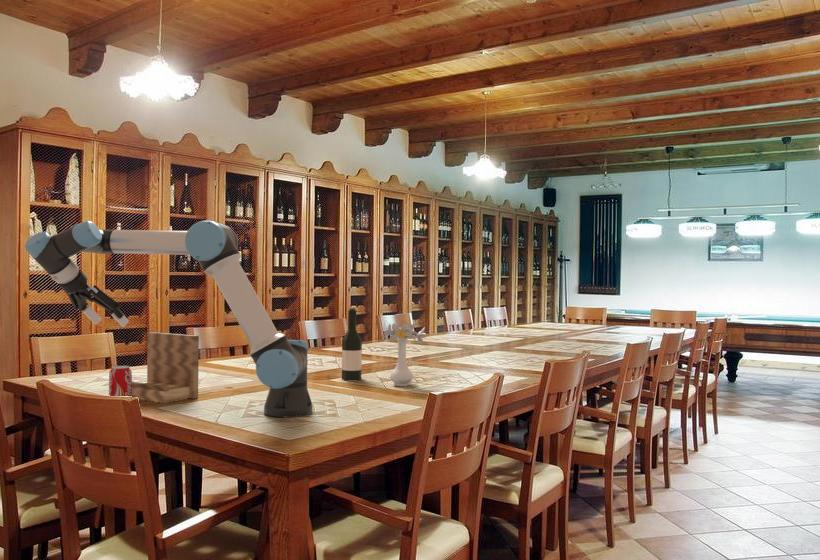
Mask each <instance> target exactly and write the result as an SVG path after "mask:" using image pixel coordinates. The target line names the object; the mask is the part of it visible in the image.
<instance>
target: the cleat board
mask: <svg viewBox="0 0 820 560" xmlns="http://www.w3.org/2000/svg"><path fill="white" fill-rule="evenodd" d="M199 339H200V336H199V335H197V334H196V335H194V334H182V333H166V332H154V331H151V332H147V349H146V350H147V352H146V353H147V357H146V358H147V359H146V360H147V364H146V365H147V366H146V368H147V369H146V371H147V372H146V375H147V376H146V382H144V383H143V382H138V381H132V397H138V398H139V400H140V399H141V400H140V401H145V400H147V401H146V402H152V401H153V403H158V402H160V403H159V404H169V402H170V403H174V402H173V401H175V402H179V400H180V401H184V400H183V399H185V400H188V399H187V398H193V399H192V400H195V399H194V398H197V399H199V357H200V356H199V350H200V346H199V344H200V343H199V342H200V340H199Z"/></svg>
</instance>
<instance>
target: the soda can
mask: <svg viewBox="0 0 820 560" xmlns="http://www.w3.org/2000/svg"><path fill="white" fill-rule="evenodd" d="M130 367H131V366H130V365H114V366H111V367H110V371H109V373H108V374H109V375H108V396H109V395H110V396H132V382H133V376H132V374H133V373H132V369H131V368H130Z"/></svg>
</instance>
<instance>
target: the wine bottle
mask: <svg viewBox="0 0 820 560" xmlns="http://www.w3.org/2000/svg"><path fill="white" fill-rule="evenodd" d="M347 315H348V317H347V318H348V320H347V321H348V322H347V323H348V324H347V331H346V333H345V335H344V337H343V338H342V340H341V341H342V342H341V380H342V379H344V380H343V381H345V380H356V381H361V380H362V366H363V365H362V361H363V360H362V353H363V348H362V347H363V345H362V343H363V340H362V338H361V335H360V334H359V332H358V330H357V310H356V308H354V307H349V309H348V314H347ZM360 379H361V380H360Z"/></svg>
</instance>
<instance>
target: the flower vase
mask: <svg viewBox="0 0 820 560" xmlns="http://www.w3.org/2000/svg"><path fill="white" fill-rule="evenodd" d="M414 329H415V324H409V325H408V324H406V323H405V322H403V323H402V325H401V326H398V325H396V323H392V324H391V323H389V324H388V326H387V329H386V330H385V331H384V332H383V337H381V340H384V339H385V338H386V337H388V336H389V341H390V342H392V341H394V339H396V340H397V350H398V352H397V362H396V365H395V368H394V369H393V370H392V371H391V372H390V374H389V375H390V376H389V378H390V380H391V382H393V385H394V386H396V387H407V386H409V385H410V383H411V382H412V381H413V380H414V374H413V372H412V371H411V369H409V367H408V364H407V355H406V353H407V352H406V349H407V342H408V339H409V340H411V339H413V340H414V341H416V340H417V344H420V345H421V346H423V344H424V338H426V337H427V333H425V330H426V326H424V327H423V328H422V329H421V330H419V332H417V331H415V330H414ZM415 336H416V337H415Z"/></svg>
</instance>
